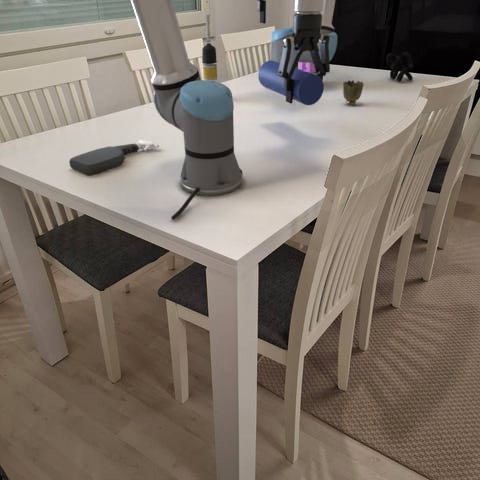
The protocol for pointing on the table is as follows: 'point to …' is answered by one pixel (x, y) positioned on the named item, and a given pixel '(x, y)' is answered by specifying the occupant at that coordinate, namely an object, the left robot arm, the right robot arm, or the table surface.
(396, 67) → the squiggle
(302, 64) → the bracket
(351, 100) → the cup
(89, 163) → the spray bottle
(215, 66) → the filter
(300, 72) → the rod
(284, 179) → the table surface
